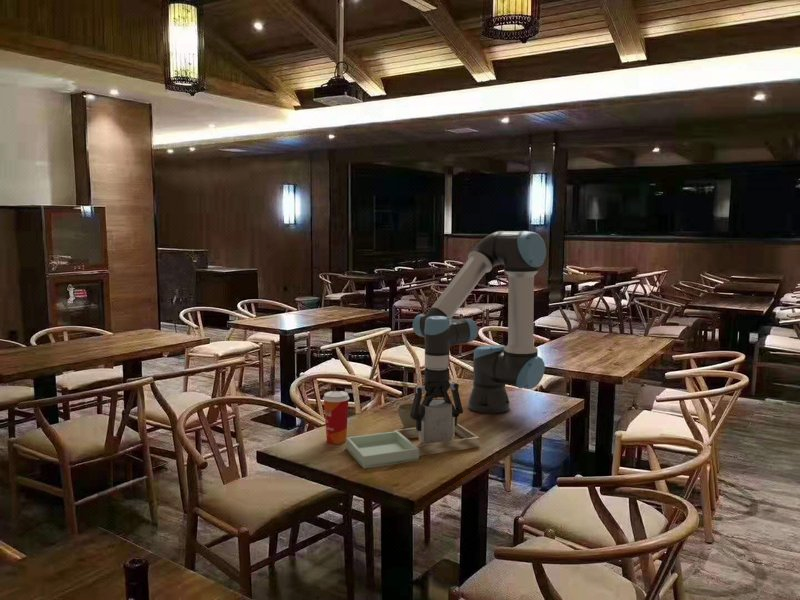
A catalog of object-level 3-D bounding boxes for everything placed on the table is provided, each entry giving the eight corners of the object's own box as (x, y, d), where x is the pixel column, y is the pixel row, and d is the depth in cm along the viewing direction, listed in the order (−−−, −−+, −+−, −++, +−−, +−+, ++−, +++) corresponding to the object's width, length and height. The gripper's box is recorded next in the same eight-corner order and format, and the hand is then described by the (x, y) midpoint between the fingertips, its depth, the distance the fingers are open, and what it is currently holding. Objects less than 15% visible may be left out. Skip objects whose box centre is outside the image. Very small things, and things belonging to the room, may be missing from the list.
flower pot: (425, 433, 203) (425, 412, 202) (394, 431, 205) (394, 410, 204) (430, 424, 213) (430, 403, 212) (400, 422, 215) (401, 401, 214)
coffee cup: (323, 436, 200) (323, 390, 198) (349, 436, 200) (349, 390, 199) (322, 446, 191) (322, 397, 190) (349, 445, 192) (349, 397, 190)
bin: (397, 441, 195) (397, 431, 195) (418, 460, 180) (418, 448, 180) (345, 448, 189) (345, 437, 189) (363, 468, 174) (363, 456, 173)
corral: (455, 431, 206) (456, 422, 205) (479, 447, 191) (479, 437, 191) (394, 439, 198) (394, 430, 197) (413, 456, 183) (413, 446, 183)
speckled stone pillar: (455, 438, 197) (455, 400, 196) (447, 449, 188) (447, 409, 187) (426, 435, 201) (426, 397, 199) (417, 445, 192) (417, 406, 190)
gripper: (463, 361, 199) (463, 429, 202) (398, 367, 191) (398, 439, 194) (475, 366, 192) (474, 437, 195) (407, 373, 184) (408, 447, 187)
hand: (436, 438), depth 194 cm, fingers closed on speckled stone pillar, 9 cm apart
